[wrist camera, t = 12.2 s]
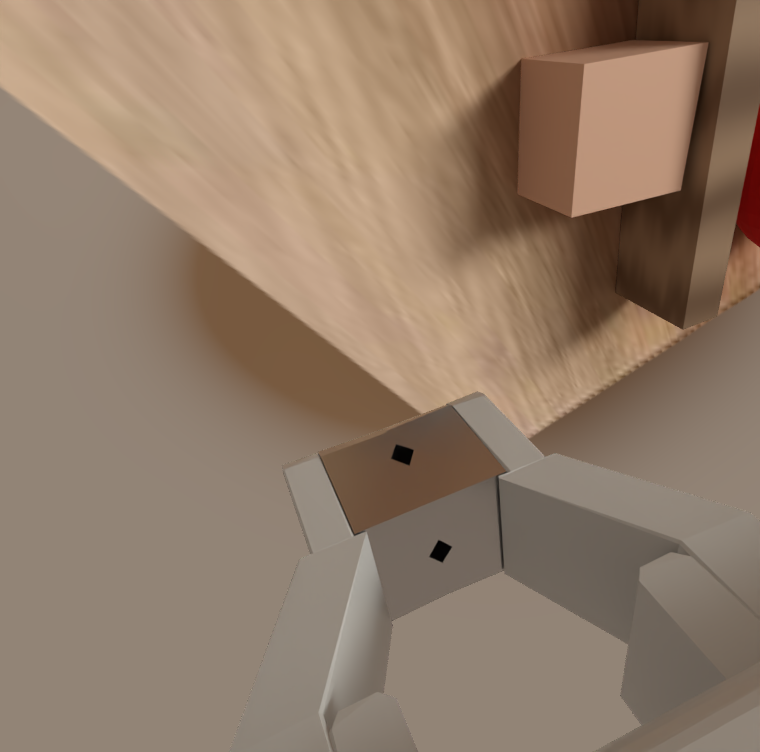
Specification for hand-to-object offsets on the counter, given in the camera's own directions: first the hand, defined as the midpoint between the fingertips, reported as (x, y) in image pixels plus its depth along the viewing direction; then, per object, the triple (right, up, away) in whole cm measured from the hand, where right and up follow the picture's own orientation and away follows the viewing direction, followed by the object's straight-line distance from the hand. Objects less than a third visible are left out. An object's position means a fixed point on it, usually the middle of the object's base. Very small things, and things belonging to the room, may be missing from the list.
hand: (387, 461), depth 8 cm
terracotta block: (+12, +18, +29) cm, 36 cm away
